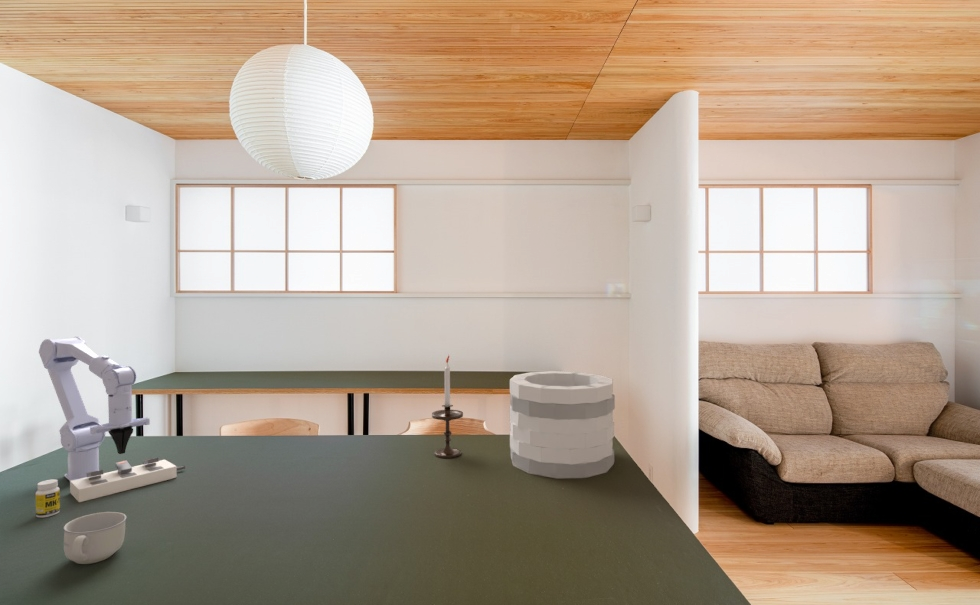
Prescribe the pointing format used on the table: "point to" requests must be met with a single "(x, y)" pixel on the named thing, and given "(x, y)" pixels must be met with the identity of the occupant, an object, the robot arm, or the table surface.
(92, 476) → the rocker
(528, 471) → the storage basket
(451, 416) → the candlestick
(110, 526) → the teacup
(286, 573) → the table surface
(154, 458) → the block
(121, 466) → the block
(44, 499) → the supplement bottle
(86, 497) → the power strip
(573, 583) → the table surface
